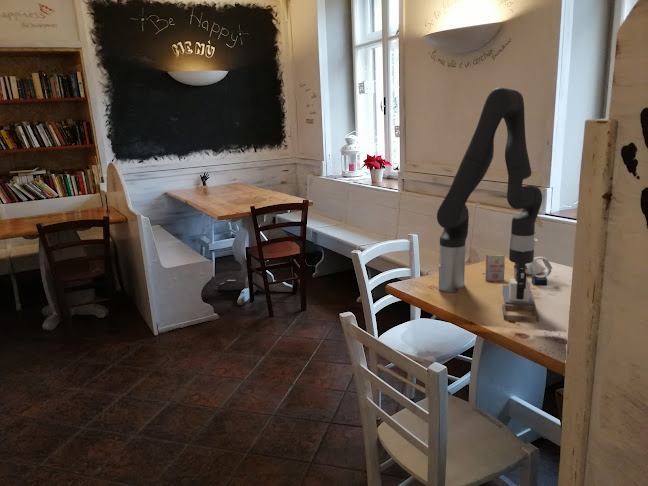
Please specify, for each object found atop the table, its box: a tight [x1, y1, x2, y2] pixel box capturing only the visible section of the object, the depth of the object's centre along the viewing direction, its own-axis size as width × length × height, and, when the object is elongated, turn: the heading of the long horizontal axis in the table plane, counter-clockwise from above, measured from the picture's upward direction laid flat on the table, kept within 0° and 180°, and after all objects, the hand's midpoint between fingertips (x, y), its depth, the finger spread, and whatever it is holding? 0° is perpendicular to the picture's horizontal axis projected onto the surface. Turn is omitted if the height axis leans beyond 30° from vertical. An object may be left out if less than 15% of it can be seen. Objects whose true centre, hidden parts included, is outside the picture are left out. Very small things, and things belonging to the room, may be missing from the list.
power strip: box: [501, 284, 536, 307], centre depth 175 cm, size 9×17×4 cm, turn 164°
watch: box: [529, 255, 553, 287], centre depth 191 cm, size 6×8×11 cm
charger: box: [508, 278, 531, 301], centre depth 170 cm, size 6×5×8 cm
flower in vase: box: [525, 215, 546, 275], centre depth 205 cm, size 13×11×25 cm
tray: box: [501, 303, 540, 323], centre depth 162 cm, size 10×9×3 cm
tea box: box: [484, 254, 506, 282], centre depth 199 cm, size 4×7×10 cm, turn 76°
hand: (519, 295), depth 171 cm, fingers closed on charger, 5 cm apart
